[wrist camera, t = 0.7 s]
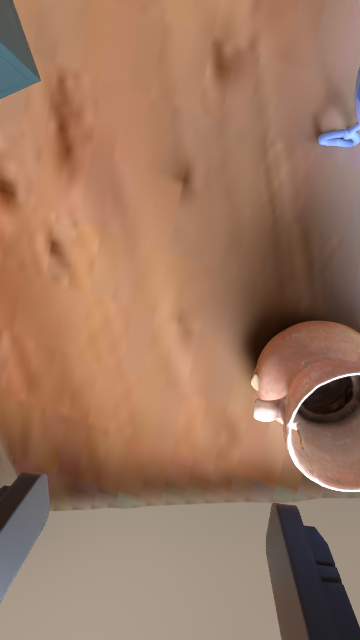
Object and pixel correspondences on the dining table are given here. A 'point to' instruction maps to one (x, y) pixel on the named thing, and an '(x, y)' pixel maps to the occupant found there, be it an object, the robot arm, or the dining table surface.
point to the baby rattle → (348, 132)
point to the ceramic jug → (315, 399)
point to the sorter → (14, 53)
